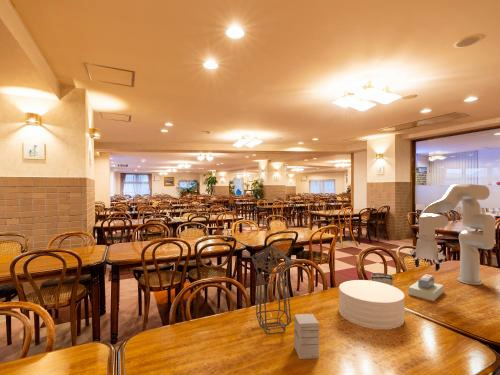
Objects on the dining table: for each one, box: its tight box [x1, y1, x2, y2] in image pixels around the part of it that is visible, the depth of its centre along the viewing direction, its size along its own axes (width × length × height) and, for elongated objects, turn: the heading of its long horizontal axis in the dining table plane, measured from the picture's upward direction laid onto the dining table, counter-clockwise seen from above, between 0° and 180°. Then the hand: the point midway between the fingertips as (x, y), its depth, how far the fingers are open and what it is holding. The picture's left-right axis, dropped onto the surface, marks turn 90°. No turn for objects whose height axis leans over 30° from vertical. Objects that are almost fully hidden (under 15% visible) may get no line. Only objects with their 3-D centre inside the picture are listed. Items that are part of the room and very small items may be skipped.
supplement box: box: [293, 313, 320, 360], centre depth 104 cm, size 7×7×13 cm
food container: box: [370, 272, 395, 286], centre depth 162 cm, size 12×6×10 cm, turn 84°
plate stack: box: [338, 279, 406, 330], centre depth 135 cm, size 28×28×12 cm
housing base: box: [417, 277, 435, 290], centre depth 160 cm, size 5×10×4 cm, turn 133°
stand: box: [408, 280, 444, 302], centre depth 160 cm, size 18×12×4 cm, turn 132°
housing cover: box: [420, 273, 434, 282], centre depth 160 cm, size 4×9×2 cm, turn 134°
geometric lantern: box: [250, 245, 295, 335], centre depth 121 cm, size 16×16×35 cm
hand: (427, 268), depth 160 cm, fingers open, 9 cm apart
